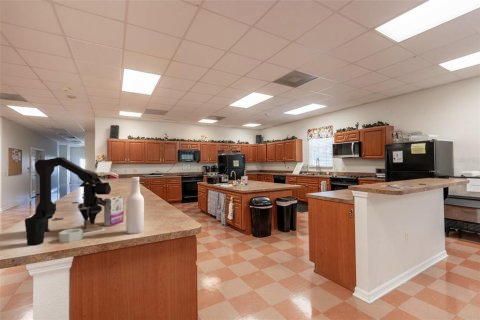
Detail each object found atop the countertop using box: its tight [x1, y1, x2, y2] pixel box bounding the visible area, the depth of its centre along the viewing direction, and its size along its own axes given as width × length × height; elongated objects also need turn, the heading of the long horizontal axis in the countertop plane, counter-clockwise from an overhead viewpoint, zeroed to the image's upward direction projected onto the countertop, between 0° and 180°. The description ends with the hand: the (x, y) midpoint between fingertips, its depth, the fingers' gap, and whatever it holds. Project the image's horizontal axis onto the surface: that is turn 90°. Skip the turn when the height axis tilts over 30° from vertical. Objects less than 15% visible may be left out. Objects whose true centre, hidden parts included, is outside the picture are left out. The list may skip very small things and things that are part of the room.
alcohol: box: [125, 176, 145, 235], centre depth 124 cm, size 9×9×30 cm
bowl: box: [57, 228, 84, 244], centre depth 111 cm, size 9×9×4 cm
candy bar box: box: [103, 195, 124, 227], centre depth 141 cm, size 11×5×16 cm, turn 168°
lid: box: [75, 219, 104, 233], centre depth 126 cm, size 10×10×5 cm
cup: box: [24, 216, 47, 247], centre depth 105 cm, size 8×8×12 cm
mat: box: [83, 227, 107, 236], centre depth 126 cm, size 14×12×1 cm
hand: (89, 222), depth 126 cm, fingers open, 9 cm apart
